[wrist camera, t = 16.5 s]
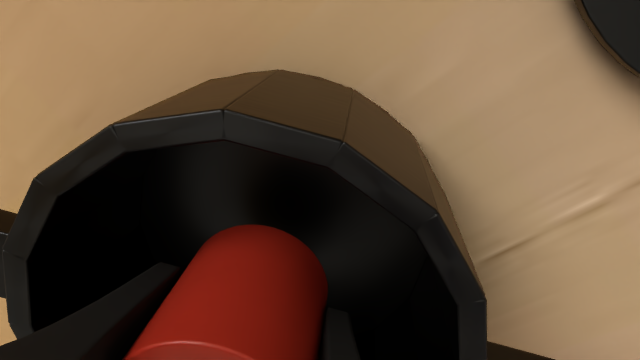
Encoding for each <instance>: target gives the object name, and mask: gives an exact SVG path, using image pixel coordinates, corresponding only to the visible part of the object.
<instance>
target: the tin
mask: <svg viewBox="0 0 640 360" xmlns="http://www.w3.org/2000/svg"><path fill="white" fill-rule="evenodd" d="M327 297H328V283H327V278H326V274H325V272H324V269H323V267H322V265H321V263H320V262H319V260H318V258H317V257H316V256H315V254H314V253H313V252H312V251H311V250H310V249H309V248H308V247H307V246H306V245H305V244H304V243H303V242H301V241H300V240H299V239H297V238H296V237H294V236H292V235H291V234H289V233H286V232H284V231H282V230H279V229H276V228H273V227H269V226H264V225H239V226H234V227H230V228H227V229H225V230H222V231H220V232H218V233H216V234H215V235H213V236H212V237H210V238H209V239H208V240H207V241H206V242H205V243H204V244H203V245H202V246H201V248H200V249H199V251H198V252H197V253H196V255H195V256H194V258H193V259H192V261H191V262H190V263H189V265H188V266H187V268H186V269H185V271H184V272H183V273H182V275H181V276H180V278H179V279H178V281H177V282H176V283H175V285H174V286H173V288H172V289H171V291H170V292H169V293H168V295H167V296H166V298H165V299H164V300H163V302H162V303H161V305H160V306H159V308H158V309H157V310H156V312H155V313H154V315H153V316H152V318H151V319H150V320H149V322H148V323H147V325H146V326H145V328H144V329H143V330H142V332H141V333H140V335H139V336H138V338H137V339H136V340H135V342H134V343H133V345H132V346H131V348H130V349H129V350H128V352H127V353H126V355H125V356H124V358H123V359H122V360H318V358H319V350H320V343H321V336H322V329H323V322H324V318H325V311H326V304H327Z"/></svg>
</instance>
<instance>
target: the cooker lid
mask: <svg viewBox="0 0 640 360" xmlns="http://www.w3.org/2000/svg"><path fill="white" fill-rule="evenodd" d="M574 1H575V3H576V5H577V8H578V10H579V12H580V14H581V16H582V18H583V19H584V21H585V22H586V24H587V25H588V27H589V28H590V30H591V31H592V33H593V34H594V36H595V37H596V39H597V40H598V41H599V42H600V44H601V45H602V46H603V47H604V48H605V49H606V50H607V51H608V52H609V53H610V54H611V55H612V56H613V57H614V58H615V59H616V60H617V61H618V62H619V63H620V64H622V65H623V66H624V67H626V68H627V69H628V70H630V71H631V72H632V73H634V74H635V75H636V76H638V77H639V78H640V0H574Z"/></svg>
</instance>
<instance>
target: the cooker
mask: <svg viewBox="0 0 640 360" xmlns="http://www.w3.org/2000/svg"><path fill="white" fill-rule="evenodd" d="M239 225H264V226H269V227H273V228H276V229H279V230H282V231H284V232H286V233H289V234H291V235H292V236H294V237H296V238H297V239H299V240H300V241H301V242H303V243H304V244H305V245H306V246H307V247H308V248H309V249H310V250H311V251H312V252H313V253H314V254H315V256H316V257H317V258H318V260H319V262H320V263H321V265H322V267H323V269H324V272H325V274H326V278H327V283H328V297H327V304H326V311H325V315H326V312H327V309H328V307H329V308H333V309H337V310H340V311H344V312H348V314H349V315H350V319H351V324H352V329H353V333H354V337H355V341H356V345H357V348H358V352H359V355H360V358H361V360H555V359H551V358H548V357H544V356H540V355H537V354H533V353H529V352H526V351H522V350H518V349H514V348H511V347H507V346H503V345H500V344H496V343H492V342H489V341H487V300H486V297H485V293H484V291H483V288H482V286H481V283H480V281H479V278H478V276H477V273H476V271H475V268H474V266H473V263H472V261H471V258H470V256H469V253H468V251H467V248H466V246H465V243H464V241H463V238H462V236H461V233H460V231H459V228H458V226H457V223H456V221H455V218H454V216H453V213H452V211H451V208H450V206H449V203H448V201H447V198H446V196H445V193H444V191H443V189H442V187H441V186H440V184H439V182H438V180H437V178H436V176H435V175H434V173H433V171H432V169H431V167H430V165H429V163H428V160H427V159H426V157H425V156H424V154H423V152H422V151H421V149H420V147H419V145H418V143H417V141H416V139H415V138H414V136H413V135H412V133H411V132H409V131H408V130H407V129H405V128H404V127H403V126H402V125H401V124H400V123H398V122H397V121H396V120H395V119H394V118H393V117H392V116H391V115H389V114H388V113H387V112H386V111H385V110H384V109H382V108H381V107H379V106H378V105H376V104H375V103H373V102H372V101H371V100H369V99H368V98H366V97H365V96H363V95H361V94H360V93H359V92H357V91H356V90H353V89H352V88H349V87H345V86H343V85H340V84H337V83H334V82H331V81H328V80H326V79H323V78H320V77H315V76H310V75H305V74H300V73H295V72H289V71H285V70H271V71H264V72H251V73H244V74H239V75H235V76H230V77H224V78H217V79H211V80H208V81H206V82H203V83H201V84H199V85H197V86H194V87H192V88H190V89H188V90H186V91H183V92H181V93H179V94H177V95H175V96H172V97H170V98H168V99H166V100H163V101H161V102H159V103H157V104H155V105H152V106H150V107H148V108H146V109H144V110H141V111H139V112H137V113H135V114H132V115H130V116H128V117H126V118H124V119H121V120H119V121H117V122H115V123H113V124H110V125H109V126H107V127H106V128H104V129H103V130H101V131H100V132H98V133H97V134H96V135H94V136H93V137H91V138H90V139H88V140H87V141H85V142H84V143H82V144H81V145H80V146H78V147H77V148H75V149H74V150H72V151H71V152H69V153H68V154H66V155H65V156H64V157H62V158H61V159H59V160H58V161H56V162H55V163H53V164H52V165H50V166H49V167H48V168H46V169H45V170H43V171H42V172H40V173H39V174H38V175H37V176H36V177H34V179H33V181H32V183H31V185H30V187H29V190H28V192H27V194H26V196H25V198H24V201H23V203H22V205H21V207H20V209H19V212H18V214H16V213H12V212H9V211H5V210H1V209H0V297H2V298H6V302H7V312H8V322H9V323H10V327H11V329H12V331H13V332H14V334H15V336H16V338H17V339H20V338H22V337H25V336H27V335H29V334H32V333H34V332H36V331H38V330H41V329H43V328H45V327H47V326H49V325H51V324H53V323H55V322H57V321H60V320H62V319H64V318H66V317H67V316H69V315H71V314H73V313H75V312H77V311H79V310H81V309H82V308H84V307H86V306H88V305H90V304H92V303H94V302H95V301H97V300H99V299H101V298H102V297H104V296H106V295H107V294H109V293H111V292H112V291H114V290H116V289H117V288H119V287H121V286H122V285H124V284H126V283H127V282H129V281H130V280H132V279H134V278H135V277H137V276H138V275H140V274H142V273H143V272H145V271H146V270H148V269H149V268H151V267H153V266H154V265H156V264H158V263H160V262H163V263H166V264H170V265H174V266H177V267H180V270H179V278H180V276H181V275H182V273H183V272H184V271H185V269H186V268H187V266H188V265H189V263H190V262H191V261H192V259H193V258H194V256H195V255H196V253H197V252H198V251H199V249H200V248H201V246H202V245H203V244H204V243H205V242H206V241H207V240H208V239H209V238H210V237H212V236H213V235H215V234H216V233H218V232H220V231H222V230H225V229H227V228H230V227H234V226H239ZM179 278H178V279H179ZM324 319H325V318H324Z"/></svg>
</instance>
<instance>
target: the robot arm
mask: <svg viewBox="0 0 640 360" xmlns="http://www.w3.org/2000/svg"><path fill="white" fill-rule="evenodd" d="M179 270H180V267H177V266H174V265H170V264H166V263H163V262H160V263H158V264H156V265H154V266H153V267H151V268H149V269H148V270H146V271H145V272H143V273H142V274H140V275H138V276H137V277H135V278H134V279H132V280H130V281H129V282H127V283H126V284H124V285H122V286H121V287H119V288H117V289H116V290H114V291H112V292H111V293H109V294H107V295H106V296H104V297H102V298H101V299H99V300H97V301H95V302H94V303H92V304H90V305H88V306H86V307H84V308H82V309H81V310H79V311H77V312H75V313H73V314H71V315H69V316H67V317H66V318H64V319H62V320H60V321H57V322H55V323H53V324H51V325H49V326H47V327H45V328H43V329H41V330H38V331H36V332H34V333H32V334H29V335H27V336H25V337H22V338H20V339H17V340H15V341H12V342H10V343H7V344H4V345H2V346H0V360H122V359H123V358H124V356H125V355H126V353H127V352H128V350H129V349H130V348H131V346H132V345H133V343H134V342H135V340H136V339H137V338H138V336H139V335H140V333H141V332H142V330H143V329H144V328H145V326H146V325H147V323H148V322H149V320H150V319H151V318H152V316H153V315H154V313H155V312H156V310H157V309H158V308H159V306H160V305H161V303H162V302H163V300H164V299H165V298H166V296H167V295H168V293H169V292H170V291H171V289H172V288H173V286H174V285H175V283H176V282H177V281H178V278H179ZM318 360H361V358H360V355H359V352H358V348H357V345H356V341H355V337H354V333H353V329H352V324H351V319H350V315H349V314H348V312H344V311H340V310H337V309H333V308H329V307H328V309H327V312H326V315H325V319H324V322H323V329H322V336H321V343H320V350H319V358H318Z"/></svg>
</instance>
